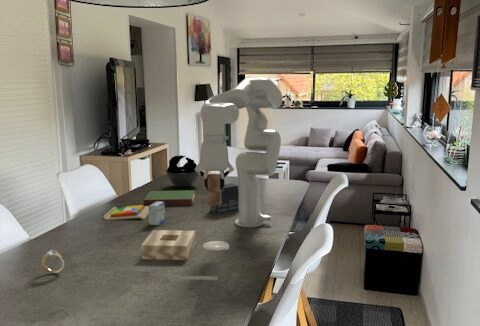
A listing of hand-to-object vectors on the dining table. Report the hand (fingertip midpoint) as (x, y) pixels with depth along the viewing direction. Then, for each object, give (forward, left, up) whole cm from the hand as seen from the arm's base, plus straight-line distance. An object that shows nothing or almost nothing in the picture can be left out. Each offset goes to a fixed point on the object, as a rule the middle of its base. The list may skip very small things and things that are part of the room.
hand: (214, 188), depth 162 cm
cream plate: (0, 0, -23) cm, 23 cm away
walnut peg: (0, 0, -6) cm, 6 cm away
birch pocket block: (+16, +6, -23) cm, 29 cm away
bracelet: (+50, +25, -23) cm, 60 cm away
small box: (+2, -51, -23) cm, 56 cm away
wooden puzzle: (+47, -42, -24) cm, 67 cm away
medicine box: (+30, -30, -23) cm, 48 cm away
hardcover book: (+32, -67, -24) cm, 78 cm away
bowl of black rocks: (+32, -99, -23) cm, 107 cm away
